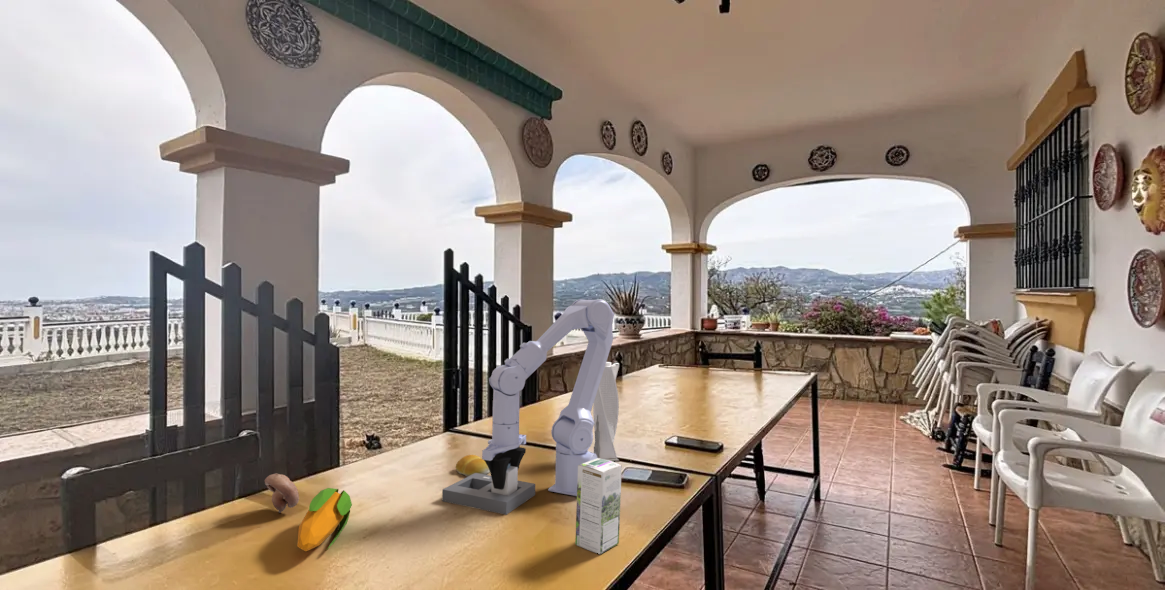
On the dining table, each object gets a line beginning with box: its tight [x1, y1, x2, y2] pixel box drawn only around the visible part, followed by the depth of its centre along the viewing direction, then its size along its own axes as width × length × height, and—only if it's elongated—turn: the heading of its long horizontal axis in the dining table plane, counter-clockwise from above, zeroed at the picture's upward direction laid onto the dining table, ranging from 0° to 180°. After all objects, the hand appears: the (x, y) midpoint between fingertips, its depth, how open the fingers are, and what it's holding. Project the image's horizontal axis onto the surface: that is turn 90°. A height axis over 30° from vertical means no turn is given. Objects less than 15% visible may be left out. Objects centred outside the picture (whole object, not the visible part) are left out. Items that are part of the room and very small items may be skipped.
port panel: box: [441, 473, 536, 516], centre depth 114 cm, size 16×12×3 cm
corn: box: [296, 487, 353, 552], centre depth 93 cm, size 7×8×20 cm
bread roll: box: [455, 454, 490, 477], centre depth 132 cm, size 8×9×4 cm
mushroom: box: [264, 473, 300, 513], centre depth 104 cm, size 8×6×8 cm
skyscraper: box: [592, 361, 620, 462], centre depth 146 cm, size 8×8×28 cm
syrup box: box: [574, 458, 622, 555], centre depth 93 cm, size 6×6×14 cm
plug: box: [491, 463, 519, 496], centre depth 113 cm, size 4×4×8 cm
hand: (504, 485), depth 113 cm, fingers closed on plug, 4 cm apart
